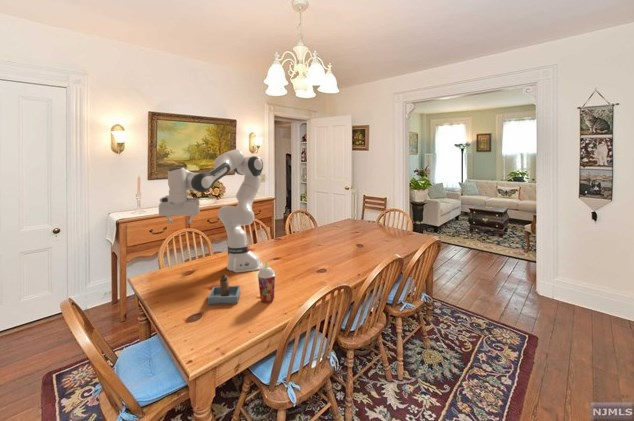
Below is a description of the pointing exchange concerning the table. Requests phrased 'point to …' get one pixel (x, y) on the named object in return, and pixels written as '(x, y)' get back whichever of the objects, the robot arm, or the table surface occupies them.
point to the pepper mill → (224, 286)
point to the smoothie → (266, 284)
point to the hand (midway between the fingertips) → (180, 223)
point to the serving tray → (216, 297)
